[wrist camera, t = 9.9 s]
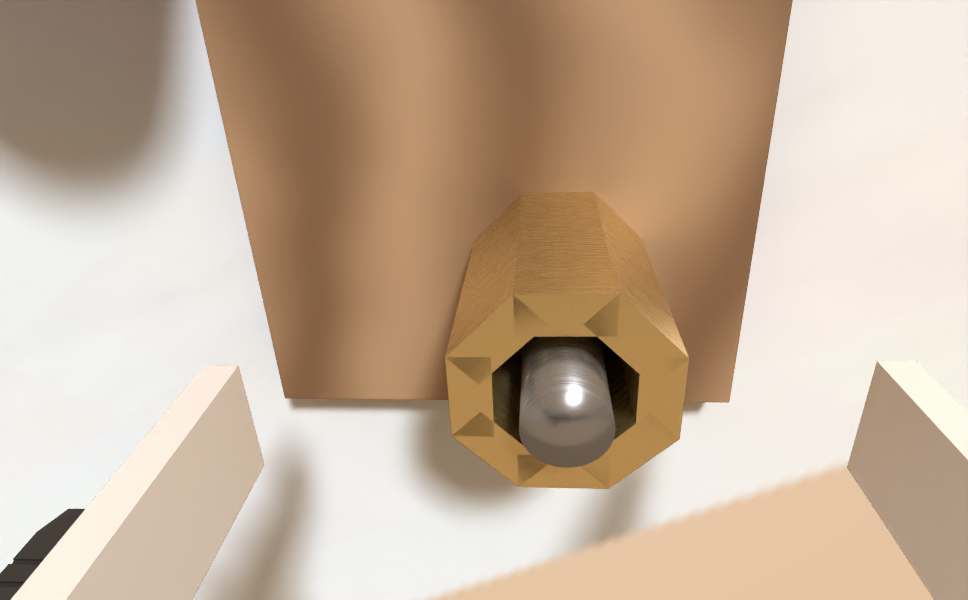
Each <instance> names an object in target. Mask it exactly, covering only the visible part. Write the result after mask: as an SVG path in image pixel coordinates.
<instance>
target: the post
mask: <svg viewBox="0 0 968 600" xmlns="http://www.w3.org/2000/svg"><path fill="white" fill-rule="evenodd" d="M519 435H520V439H521V441H522V444H523V445H524V447H525V448H526V450H527V451H528V452H529V453H530V454H531V455H532V456H533V457H535V458H536V459H538V460H539V461H541V462H543V463H546V464H548V465H552V466H556V467H564V468H571V467H579V466H583V465H586V464H589V463H591V462H593V461H595V460H597V459H599V458H600V457H601V456H602V455H604V454H605V453H606V452H607V450H608V449H609V448H610V446H611V445H612V443H613V440H614V437H615V421H614V415H613V410H612V404H611V398H610V392H609V386H608V381H607V375H606V369H605V363H604V357H603V352H602V346H601V340H600V339H599V338H598V337H533V338H532V339H530V340H529V341H528V342H527V343H526V344H525V345H524V346H523V350H522V373H521V395H520V418H519Z"/></svg>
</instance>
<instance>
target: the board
mask: <svg viewBox="0 0 968 600" xmlns="http://www.w3.org/2000/svg"><path fill="white" fill-rule="evenodd" d="M196 5H197V9H198V14H199V18H200V23H201V27H202V31H203V36H204V40H205V45H206V49H207V54H208V58H209V63H210V67H211V71H212V76H213V80H214V85H215V89H216V94H217V98H218V103H219V107H220V111H221V116H222V120H223V125H224V129H225V134H226V138H227V143H228V147H229V151H230V156H231V160H232V165H233V169H234V174H235V178H236V183H237V187H238V191H239V196H240V200H241V205H242V209H243V214H244V218H245V223H246V227H247V231H248V236H249V240H250V245H251V249H252V254H253V258H254V262H255V267H256V271H257V276H258V280H259V285H260V289H261V294H262V298H263V302H264V307H265V311H266V316H267V320H268V325H269V329H270V334H271V338H272V342H273V347H274V351H275V356H276V360H277V365H278V369H279V374H280V378H281V382H282V387H283V391H284V396H285V398H311V399H418V400H449V397H448V385H447V374H446V362H445V355H446V351H447V347H448V343H449V339H450V335H451V331H452V327H453V323H454V319H455V315H456V311H457V307H458V303H459V299H460V295H461V291H462V287H463V283H464V279H465V275H466V271H467V267H468V263H469V259H470V255H471V251H472V247H473V243H474V240H475V239H476V238H477V237H478V236H479V235H480V234H481V233H482V232H483V231H484V230H485V229H486V228H487V227H488V226H489V225H490V224H491V223H492V222H493V221H494V220H495V219H496V218H497V217H498V216H499V215H500V214H501V213H502V212H503V211H504V210H505V209H506V208H507V207H508V206H509V205H510V204H511V203H512V202H513V201H514V200H515V199H516V198H517V197H518V196H519V195H520V194H521V193H538V192H587V191H593V192H594V193H595V194H596V195H597V196H598V197H599V198H600V199H601V200H603V201H604V202H605V203H606V204H607V205H608V206H609V207H610V208H611V209H612V210H613V211H614V212H615V213H616V214H617V215H618V216H619V217H620V218H621V219H622V220H623V221H624V222H625V223H626V224H627V225H628V226H629V227H630V228H631V229H632V230H633V231H634V232H636V233H637V234H638V235H639V236H640V237H641V239H642V241H643V244H644V246H645V249H646V251H647V254H648V256H649V259H650V261H651V264H652V266H653V269H654V271H655V274H656V276H657V279H658V281H659V284H660V286H661V289H662V291H663V294H664V296H665V299H666V301H667V304H668V306H669V309H670V311H671V314H672V316H673V319H674V321H675V324H676V326H677V329H678V331H679V334H680V336H681V339H682V341H683V344H684V346H685V349H686V351H687V354H688V356H689V363H688V372H687V380H686V389H685V397H684V402H729V400H730V394H731V387H732V381H733V375H734V368H735V362H736V356H737V349H738V343H739V337H740V330H741V324H742V318H743V311H744V305H745V299H746V292H747V286H748V279H749V273H750V267H751V260H752V254H753V248H754V241H755V235H756V229H757V222H758V216H759V210H760V203H761V197H762V191H763V184H764V178H765V172H766V165H767V159H768V153H769V146H770V140H771V134H772V127H773V121H774V115H775V108H776V102H777V96H778V89H779V83H780V77H781V70H782V64H783V58H784V51H785V45H786V39H787V32H788V26H789V19H790V13H791V7H792V0H196Z"/></svg>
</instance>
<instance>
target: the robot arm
mask: <svg viewBox="0 0 968 600" xmlns="http://www.w3.org/2000/svg"><path fill="white" fill-rule="evenodd" d="M263 467H264V461H263V457H262V453H261V450H260V446H259V442H258V438H257V434H256V430H255V427H254V423H253V419H252V415H251V411H250V408H249V404H248V400H247V396H246V392H245V389H244V385H243V381H242V377H241V373H240V370H239V366H238V365H216V366H203V367H202V368H201V370H200V371H199V372H198V373H197V374H196V376H195V377H194V378H193V379H192V381H191V382H190V383H189V384H188V385H187V387H186V388H185V389H184V390H183V391H182V393H181V394H180V395H179V396H178V398H177V399H176V400H175V401H174V402H173V404H172V405H171V406H170V407H169V408H168V410H167V411H166V412H165V413H164V414H163V416H162V417H161V418H160V419H159V421H158V422H157V423H156V424H155V425H154V427H153V428H152V429H151V430H150V431H149V433H148V434H147V435H146V436H145V437H144V439H143V440H142V441H141V442H140V444H139V445H138V446H137V447H136V448H135V450H134V451H133V452H132V453H131V454H130V456H129V457H128V458H127V459H126V461H125V462H124V463H123V464H122V465H121V467H120V468H119V469H118V470H117V471H116V473H115V474H114V475H113V476H112V477H111V479H110V480H109V481H108V482H107V484H106V485H105V486H104V487H103V488H102V490H101V491H100V492H99V493H98V494H97V496H96V497H95V498H94V499H93V501H92V502H91V503H90V504H89V505H88V507H87V508H86V509H68V510H66V511H65V512H64V513H62V514H61V515H59V516H58V517H57V518H55V519H54V520H53V521H51V522H50V523H48V524H47V525H46V526H44V527H43V528H42V529H40V530H39V531H38V532H36V534H35V535H34V536H33V537H32V538H31V539H30V540H29V542H28V543H27V544H26V545H25V546H24V547H23V548H22V550H21V551H20V552H19V553H18V554H17V555H16V556H15V557H14V559H13V560H14V561H13V563H12V564H8V565H7V567H6V568H5V569H4V570H3V571H2V572H1V573H0V600H193V598H194V596H195V594H196V592H197V590H198V589H199V587H200V585H201V583H202V581H203V579H204V577H205V575H206V574H207V572H208V570H209V568H210V566H211V564H212V562H213V560H214V559H215V557H216V555H217V553H218V551H219V549H220V547H221V545H222V544H223V542H224V540H225V538H226V536H227V534H228V532H229V530H230V529H231V527H232V525H233V523H234V521H235V519H236V517H237V515H238V514H239V512H240V510H241V508H242V506H243V504H244V502H245V500H246V499H247V497H248V495H249V493H250V491H251V489H252V487H253V485H254V483H255V482H256V480H257V478H258V476H259V474H260V472H261V470H262V468H263ZM847 468H848V470H849V471H850V473H851V474H852V476H853V477H854V479H855V480H856V482H857V483H858V485H859V486H860V488H861V489H862V491H863V492H864V494H865V495H866V497H867V498H868V500H869V501H870V503H871V504H872V506H873V508H874V509H875V511H876V512H877V514H878V515H879V517H880V518H881V520H882V521H883V523H884V524H885V526H886V527H887V529H888V530H889V532H890V533H891V535H892V536H893V538H894V540H895V541H896V543H897V544H898V546H899V547H900V549H901V550H902V552H903V553H904V555H905V556H906V558H907V559H908V561H909V562H910V564H911V565H912V567H913V568H914V570H915V571H916V573H917V574H918V576H919V577H920V579H921V581H922V582H923V584H924V585H925V587H926V588H927V590H928V591H929V593H930V594H931V596H932V597H933V599H934V600H968V410H967V409H966V408H965V407H964V406H963V405H962V404H961V403H960V402H959V401H958V400H957V399H956V398H955V397H954V396H953V395H952V394H951V393H950V392H949V391H948V390H947V389H946V388H945V387H944V386H943V385H942V384H941V383H940V382H939V381H937V380H936V379H935V378H934V377H933V376H932V375H931V374H930V373H929V372H928V371H927V370H926V369H925V368H924V367H923V366H922V365H921V364H920V363H919V362H918V361H877V363H876V367H875V370H874V374H873V377H872V381H871V385H870V388H869V392H868V395H867V399H866V402H865V406H864V410H863V413H862V417H861V420H860V424H859V427H858V431H857V434H856V438H855V442H854V445H853V449H852V452H851V456H850V459H849V463H848V466H847Z"/></svg>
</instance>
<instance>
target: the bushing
mask: <svg viewBox="0 0 968 600" xmlns="http://www.w3.org/2000/svg"><path fill="white" fill-rule="evenodd" d="M533 337H598V338H599V339H600V340H601V346H602V352H603V357H604V363H605V369H606V375H607V381H608V386H609V392H610V398H611V404H612V410H613V415H614V421H615V437H614V440H613V443H612V445H611V446H610V448H609V449H608V450H607V452H606V453H605V454H604V455H602V456H601V457H600V458H599V459H597V460H595V461H593V462H591V463H589V464H586V465H583V466H579V467H571V468H564V467H556V466H552V465H548V464H546V463H543V462H541V461H539V460H538V459H536V458H535V457H533V456H532V455H531V454H530V453H529V452H528V451H527V450H526V448H525V447H524V445H523V444H522V441H521V439H520V435H519V418H520V395H521V373H522V350H523V346H524V345H525V344H526V343H527V342H528V341H529V340H530V339H532V338H533ZM445 362H446V374H447V385H448V397H449V409H450V421H451V433H452V436H453V437H454V438H455V439H456V440H458V441H459V442H460V443H462V444H463V445H464V446H466V447H467V448H468V449H469V450H471V451H472V452H473V453H475V454H476V455H477V456H479V457H480V458H481V459H483V460H484V461H485V462H486V463H488V464H489V465H490V466H492V467H493V468H494V469H496V470H497V471H498V472H500V473H501V474H502V475H503V476H505V477H506V478H507V479H509V480H510V481H511V482H513V483H514V484H515V485H516V486H518V487H546V488H593V489H609V488H610V487H612V486H613V485H615V484H616V483H617V482H619V481H620V480H622V479H623V478H625V477H626V476H628V475H629V474H630V473H632V472H633V471H635V470H636V469H638V468H639V467H640V466H642V465H643V464H645V463H646V462H648V461H649V460H650V459H652V458H653V457H655V456H656V455H658V454H659V453H660V452H662V451H663V450H665V449H666V448H668V447H669V446H670V445H672V444H673V443H675V442H676V441H678V440H679V439H680V431H681V423H682V414H683V406H684V397H685V389H686V380H687V372H688V363H689V356H688V354H687V351H686V349H685V346H684V344H683V341H682V339H681V336H680V334H679V331H678V329H677V326H676V324H675V321H674V319H673V316H672V314H671V311H670V309H669V306H668V304H667V301H666V299H665V296H664V294H663V291H662V289H661V286H660V284H659V281H658V279H657V276H656V274H655V271H654V269H653V266H652V264H651V261H650V259H649V256H648V254H647V251H646V249H645V246H644V244H643V241H642V239H641V237H640V236H639V235H638V234H637V233H636V232H634V231H633V230H632V229H631V228H630V227H629V226H628V225H627V224H626V223H625V222H624V221H623V220H622V219H621V218H620V217H619V216H618V215H617V214H616V213H615V212H614V211H613V210H612V209H611V208H610V207H609V206H608V205H607V204H606V203H605V202H604V201H603V200H601V199H600V198H599V197H598V196H597V195H596V194H595V193H594V192H593V191H587V192H538V193H521V194H520V195H519V196H518V197H517V198H516V199H515V200H514V201H513V202H512V203H511V204H510V205H509V206H508V207H507V208H506V209H505V210H504V211H503V212H502V213H501V214H500V215H499V216H498V217H497V218H496V219H495V220H494V221H493V222H492V223H491V224H490V225H489V226H488V227H487V228H486V229H485V230H484V231H483V232H482V233H481V234H480V235H479V236H478V237H477V238H476V239H475V240H474V243H473V247H472V251H471V255H470V259H469V263H468V267H467V271H466V275H465V279H464V283H463V287H462V291H461V295H460V299H459V303H458V307H457V311H456V315H455V319H454V323H453V327H452V331H451V335H450V339H449V343H448V347H447V351H446V355H445Z"/></svg>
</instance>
